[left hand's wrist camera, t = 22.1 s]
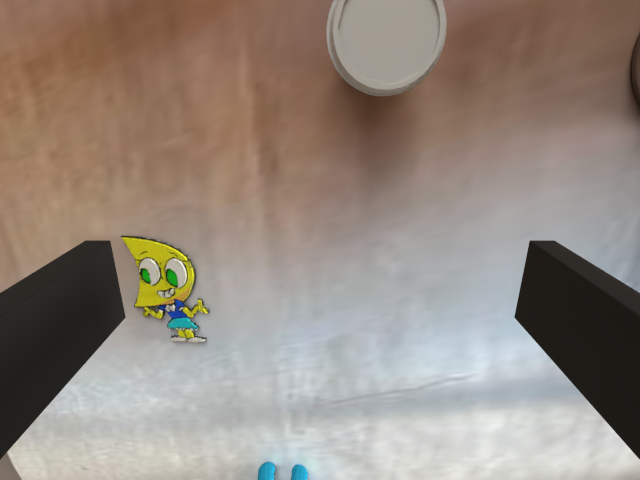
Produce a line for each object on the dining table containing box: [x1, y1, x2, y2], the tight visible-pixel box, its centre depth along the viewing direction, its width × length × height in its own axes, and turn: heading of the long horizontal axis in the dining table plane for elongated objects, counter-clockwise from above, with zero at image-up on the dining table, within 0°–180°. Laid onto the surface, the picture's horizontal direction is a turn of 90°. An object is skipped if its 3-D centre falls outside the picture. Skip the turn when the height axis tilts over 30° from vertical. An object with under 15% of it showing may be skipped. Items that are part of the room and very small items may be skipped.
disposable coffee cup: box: [326, 0, 447, 96], centre depth 35 cm, size 10×10×12 cm
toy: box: [121, 236, 209, 343], centre depth 50 cm, size 10×1×15 cm
